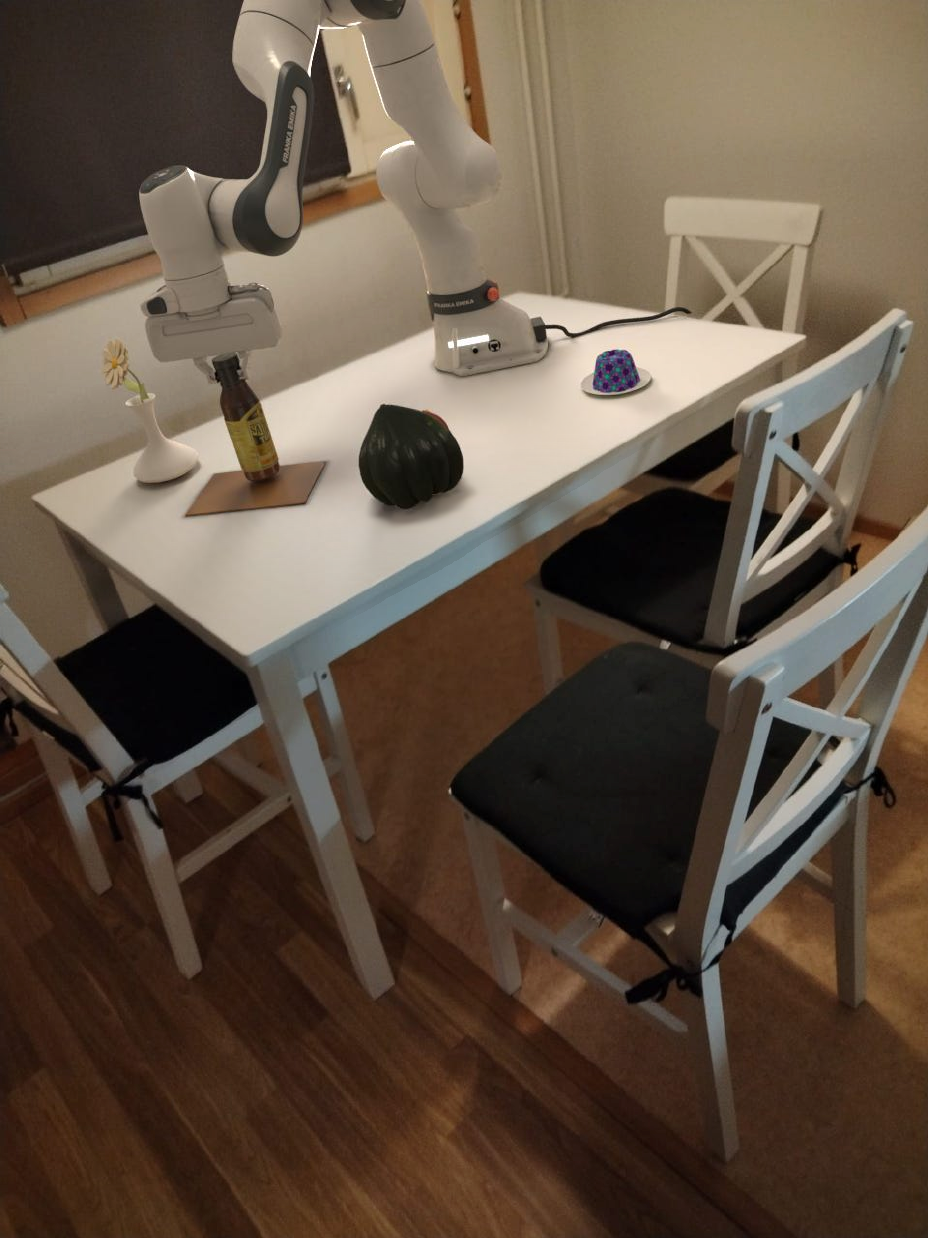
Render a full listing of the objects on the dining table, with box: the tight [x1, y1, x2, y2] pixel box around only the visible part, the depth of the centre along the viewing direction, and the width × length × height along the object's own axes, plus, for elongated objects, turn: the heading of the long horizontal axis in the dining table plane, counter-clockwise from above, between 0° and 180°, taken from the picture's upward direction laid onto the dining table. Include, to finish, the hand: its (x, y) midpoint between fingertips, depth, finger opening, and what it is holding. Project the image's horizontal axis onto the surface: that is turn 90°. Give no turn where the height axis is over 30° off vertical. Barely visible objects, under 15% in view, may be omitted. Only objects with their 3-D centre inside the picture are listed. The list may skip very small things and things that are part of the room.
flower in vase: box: [101, 336, 199, 484], centre depth 154 cm, size 13×11×25 cm
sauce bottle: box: [211, 352, 281, 481], centre depth 147 cm, size 7×6×20 cm
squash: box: [358, 403, 465, 510], centre depth 136 cm, size 14×15×15 cm
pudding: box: [580, 348, 652, 396], centre depth 158 cm, size 12×12×5 cm
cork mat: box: [184, 460, 327, 517], centre depth 151 cm, size 20×14×1 cm
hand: (230, 380), depth 144 cm, fingers closed on sauce bottle, 4 cm apart
